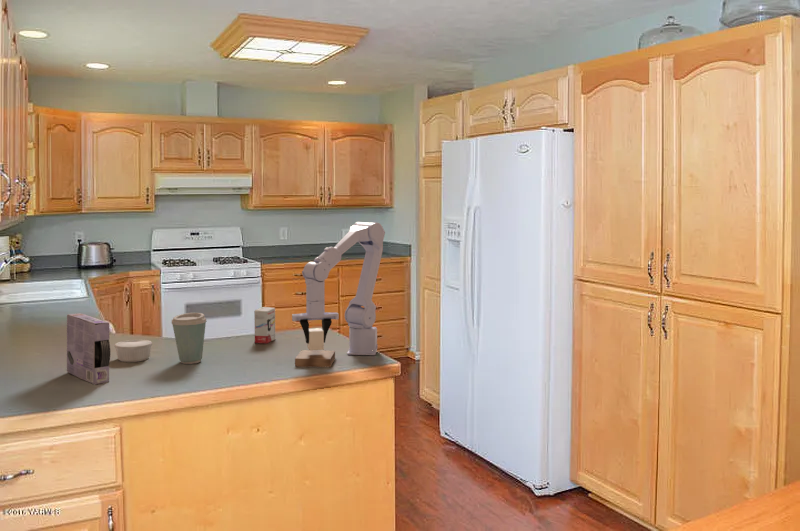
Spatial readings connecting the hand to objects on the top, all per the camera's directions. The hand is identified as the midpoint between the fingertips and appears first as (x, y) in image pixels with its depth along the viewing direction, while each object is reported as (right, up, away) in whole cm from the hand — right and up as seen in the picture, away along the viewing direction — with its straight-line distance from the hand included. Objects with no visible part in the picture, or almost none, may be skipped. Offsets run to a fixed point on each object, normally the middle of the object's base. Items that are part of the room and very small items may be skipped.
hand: (315, 342), depth 222 cm
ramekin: (-59, -6, +3) cm, 59 cm away
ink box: (-22, -3, +30) cm, 37 cm away
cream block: (0, -2, 0) cm, 2 cm away
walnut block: (0, -7, +1) cm, 7 cm away
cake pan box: (-63, -8, -20) cm, 67 cm away
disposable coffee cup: (-40, -6, 0) cm, 40 cm away
